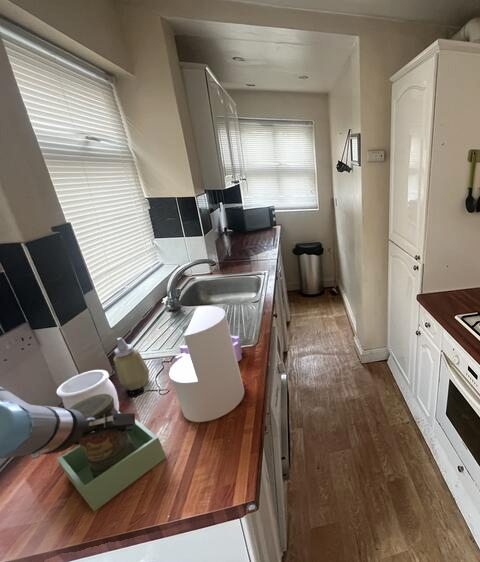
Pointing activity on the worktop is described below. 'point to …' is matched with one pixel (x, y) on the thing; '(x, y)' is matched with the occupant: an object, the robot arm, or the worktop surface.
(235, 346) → the clip
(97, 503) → the tub
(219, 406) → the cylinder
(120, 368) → the squeeze bottle
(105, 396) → the container
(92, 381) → the jar
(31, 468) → the worktop surface
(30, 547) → the worktop surface
